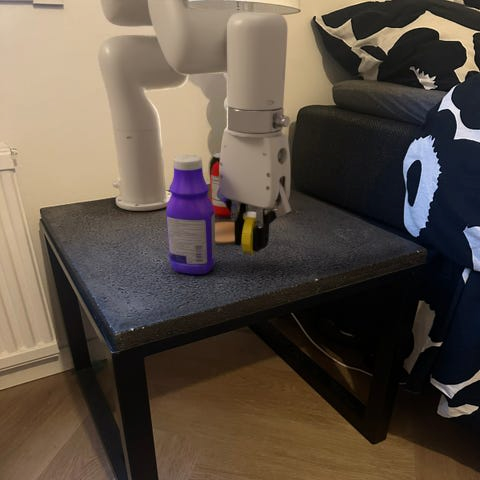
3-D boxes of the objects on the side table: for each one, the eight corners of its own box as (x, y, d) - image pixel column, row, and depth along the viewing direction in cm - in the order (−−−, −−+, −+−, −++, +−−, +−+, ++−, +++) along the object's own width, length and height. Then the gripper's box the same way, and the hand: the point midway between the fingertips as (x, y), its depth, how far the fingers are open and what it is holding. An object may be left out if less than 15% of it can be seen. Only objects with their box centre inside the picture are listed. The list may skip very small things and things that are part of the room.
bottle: (219, 263, 78) (216, 154, 69) (210, 278, 73) (205, 163, 64) (177, 259, 79) (169, 151, 70) (165, 274, 75) (155, 160, 65)
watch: (254, 260, 72) (255, 222, 68) (236, 257, 72) (237, 220, 69) (264, 244, 77) (266, 209, 73) (248, 242, 77) (249, 207, 74)
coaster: (187, 235, 88) (187, 233, 88) (221, 220, 95) (221, 218, 95) (229, 248, 83) (229, 246, 83) (262, 231, 90) (262, 229, 90)
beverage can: (248, 213, 98) (248, 153, 92) (227, 221, 94) (226, 159, 88) (225, 206, 102) (224, 148, 95) (205, 214, 98) (202, 154, 91)
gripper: (321, 124, 62) (308, 251, 73) (225, 109, 71) (225, 226, 81) (290, 134, 57) (281, 269, 68) (191, 117, 66) (196, 240, 76)
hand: (251, 244), depth 74 cm, fingers closed on watch, 2 cm apart
